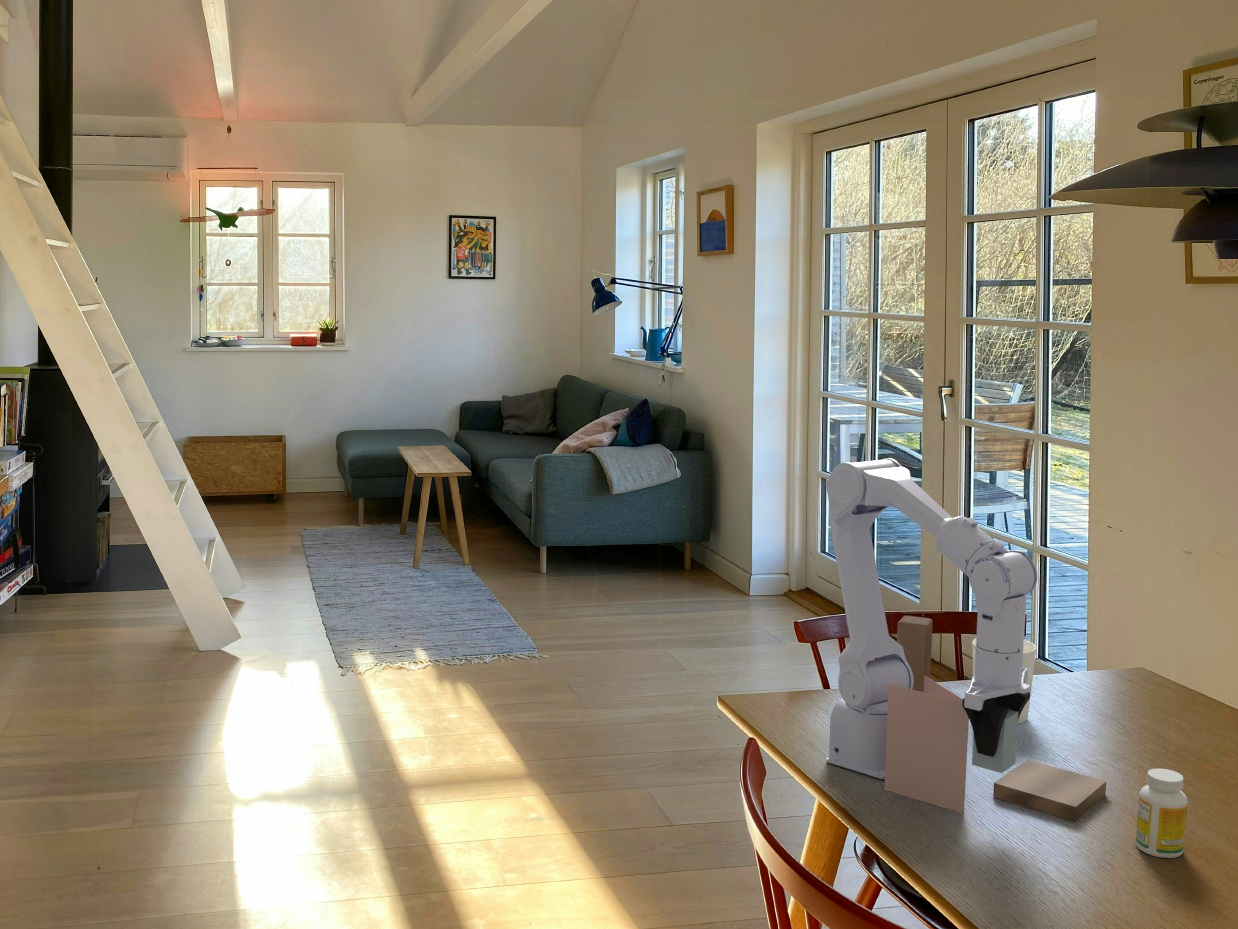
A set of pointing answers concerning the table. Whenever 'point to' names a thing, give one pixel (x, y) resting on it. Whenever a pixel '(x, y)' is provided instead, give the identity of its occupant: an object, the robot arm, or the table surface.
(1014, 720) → the slate block
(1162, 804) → the supplement bottle
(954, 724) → the greeting card
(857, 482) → the robot arm
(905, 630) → the wooden block
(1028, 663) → the candle holder
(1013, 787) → the walnut base
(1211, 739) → the table surface
